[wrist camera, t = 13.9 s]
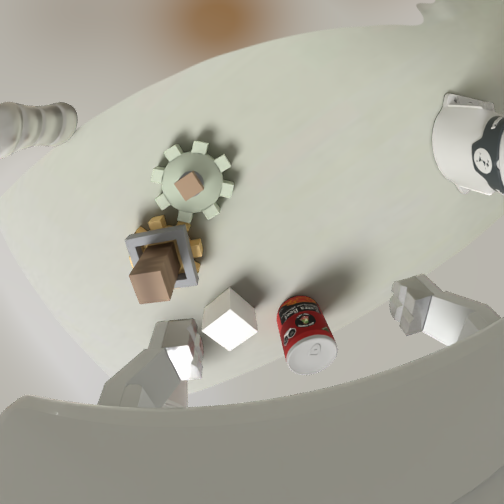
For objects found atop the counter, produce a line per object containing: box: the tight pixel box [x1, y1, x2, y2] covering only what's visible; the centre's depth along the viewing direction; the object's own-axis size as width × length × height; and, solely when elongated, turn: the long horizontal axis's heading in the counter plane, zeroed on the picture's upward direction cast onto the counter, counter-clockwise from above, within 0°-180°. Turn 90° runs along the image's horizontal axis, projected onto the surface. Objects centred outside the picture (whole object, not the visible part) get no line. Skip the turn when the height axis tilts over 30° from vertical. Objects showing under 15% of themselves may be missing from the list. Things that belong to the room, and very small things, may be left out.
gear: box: [151, 140, 234, 223], centre depth 34 cm, size 11×11×5 cm
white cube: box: [202, 287, 258, 351], centre depth 43 cm, size 6×6×6 cm
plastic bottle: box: [0, 102, 77, 159], centre depth 21 cm, size 6×7×20 cm
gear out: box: [125, 215, 203, 289], centre depth 38 cm, size 11×11×4 cm
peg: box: [129, 242, 180, 304], centre depth 34 cm, size 4×4×8 cm
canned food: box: [277, 296, 337, 375], centre depth 42 cm, size 8×8×11 cm
